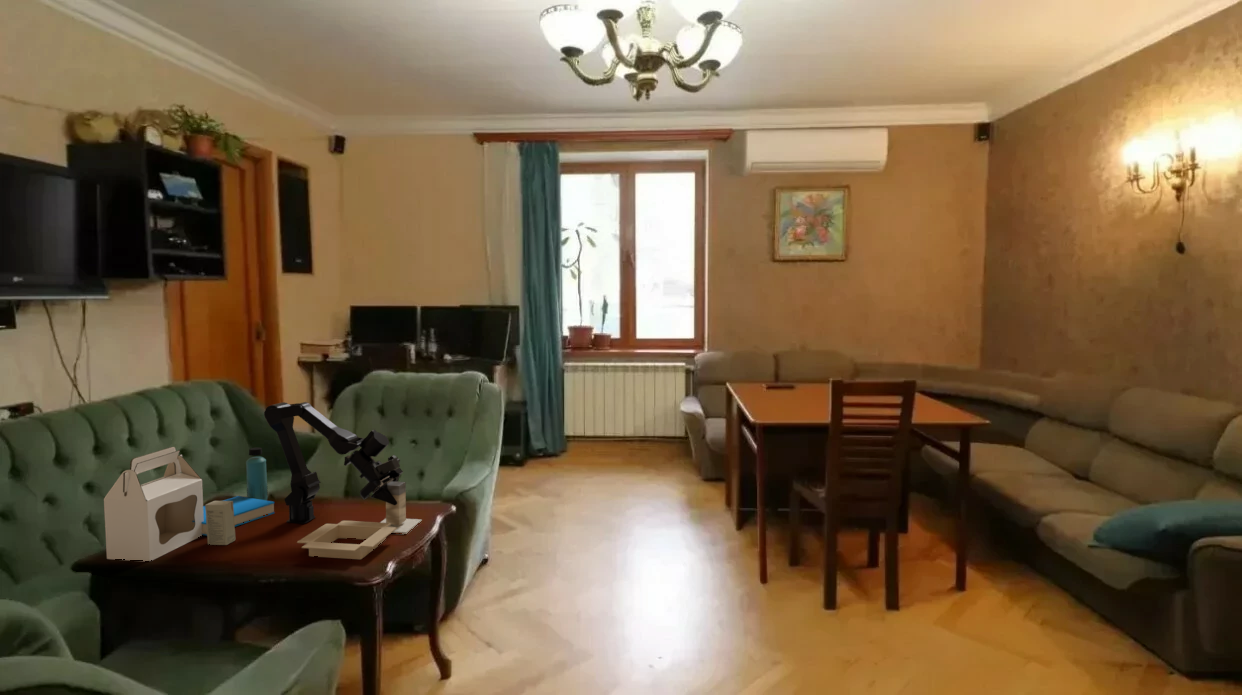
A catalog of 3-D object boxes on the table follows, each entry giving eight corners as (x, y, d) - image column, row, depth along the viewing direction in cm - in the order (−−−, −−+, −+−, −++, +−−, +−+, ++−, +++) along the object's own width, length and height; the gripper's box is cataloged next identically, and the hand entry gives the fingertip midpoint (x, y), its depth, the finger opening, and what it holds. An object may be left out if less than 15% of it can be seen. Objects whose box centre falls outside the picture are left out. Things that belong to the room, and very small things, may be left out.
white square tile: (369, 532, 221) (369, 529, 221) (386, 519, 233) (386, 517, 233) (406, 534, 219) (406, 532, 219) (421, 521, 231) (421, 519, 231)
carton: (290, 560, 198) (289, 546, 198) (332, 532, 220) (332, 519, 220) (366, 565, 195) (366, 551, 195) (401, 536, 218) (401, 523, 217)
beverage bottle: (270, 504, 247) (269, 448, 245) (250, 508, 242) (248, 451, 240) (264, 500, 251) (262, 445, 249) (244, 504, 247) (242, 447, 245)
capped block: (386, 523, 224) (385, 485, 223) (392, 519, 228) (392, 481, 227) (399, 524, 223) (399, 486, 222) (405, 520, 228) (405, 482, 227)
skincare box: (236, 540, 212) (234, 500, 211) (226, 545, 208) (225, 505, 207) (215, 539, 213) (214, 499, 212) (206, 544, 209) (204, 504, 208)
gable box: (148, 562, 195) (144, 463, 193) (105, 559, 197) (100, 460, 194) (205, 534, 217) (201, 444, 215) (165, 532, 219) (162, 443, 216)
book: (275, 501, 238) (208, 522, 214) (275, 514, 238) (208, 536, 215) (237, 495, 244) (168, 514, 220) (237, 507, 244) (168, 528, 221)
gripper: (368, 456, 215) (403, 494, 214) (397, 443, 234) (429, 477, 233) (345, 480, 217) (379, 517, 216) (375, 465, 235) (406, 499, 235)
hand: (399, 502), depth 225 cm, fingers closed on capped block, 4 cm apart
